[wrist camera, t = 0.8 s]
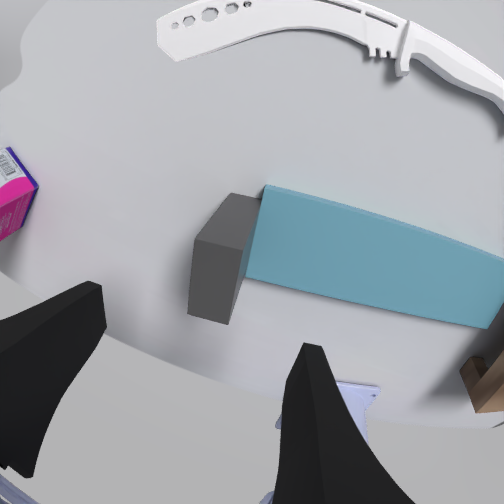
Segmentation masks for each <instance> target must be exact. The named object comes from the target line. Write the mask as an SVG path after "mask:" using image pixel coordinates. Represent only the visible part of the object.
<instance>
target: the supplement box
mask: <svg viewBox="0 0 504 504" xmlns="http://www.w3.org/2000/svg"><path fill="white" fill-rule="evenodd" d="M38 187H39V186H38V184H37V183H36V181H35V180H34V179H33V178H32V176H31V175H30V174H29V172H28V171H27V170H26V169H25V167H24V166H23V165H22V163H21V162H20V161H19V159H18V158H17V156H16V155H15V154H14V152H13V151H12V149H11V148H10V147H7V148H4V149H1V150H0V241H1V240H2V239H4V238H5V237H7V236H8V235H10V234H11V233H13V232H14V231H16V230H18V229H19V228H21V227H22V226H23V223H24V220H25V218H26V215H27V212H28V210H29V207H30V205H31V202H32V200H33V197H34V195H35V193H36V191H37V189H38Z"/></svg>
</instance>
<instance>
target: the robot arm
mask: <svg viewBox="0 0 504 504" xmlns="http://www.w3.org/2000/svg"><path fill="white" fill-rule="evenodd" d="M106 328H107V325H106V318H105V311H104V303H103V294H102V285H99V284H96V283H94V282H91V281H86V282H84V283H81V284H79V285H77V286H75V287H73V288H71V289H68V290H66V291H64V292H62V293H60V294H58V295H56V296H54V297H52V298H50V299H48V300H46V301H44V302H42V303H40V304H38V305H36V306H33V307H31V308H29V309H27V310H24V311H22V312H20V313H18V314H16V315H13V316H11V317H8V318H6V319H3V320H0V467H1V468H3V469H4V470H5V469H6V468H7V466H10V467H11V468H12V469H13V470H15V471H16V472H18V473H19V474H20V475H22V476H23V477H24V478H31V477H33V474H34V469H35V465H36V461H37V457H38V454H39V451H40V447H41V445H42V442H43V439H44V436H45V433H46V431H47V428H48V426H49V423H50V421H51V419H52V417H53V414H54V412H55V410H56V408H57V406H58V404H59V402H60V400H61V398H62V397H63V395H64V393H65V392H66V390H67V388H68V387H69V386H70V384H71V383H72V381H73V380H74V378H75V377H76V375H77V374H78V373H79V371H80V370H81V368H82V367H83V365H84V364H85V363H86V361H87V360H88V358H89V357H90V356H91V354H92V353H93V351H94V350H95V348H96V346H97V345H98V343H99V341H100V339H101V337H102V335H103V333H104V331H105V330H106ZM380 392H381V391H380V388H379V387H374V386H366V385H358V384H351V383H343V382H337V381H335V379H334V376H333V374H332V371H331V369H330V366H329V364H328V361H327V358H326V356H325V353H324V350H323V348H322V346H318V345H314V344H309V343H303V345H302V347H301V349H300V352H299V354H298V356H297V358H296V360H295V363H294V365H293V367H292V369H291V371H290V373H289V375H288V378H287V380H286V385H285V391H284V397H283V404H282V414H281V415H280V417H279V419H278V421H277V422H276V425H275V427H276V428H277V429H281V439H280V457H279V467H278V474H277V480H276V486H275V490H274V491H272V492H269V493H268V494H267V495H266V496H265V497H264V498H263V499H262V500H261V501H260V503H259V504H415V503H414V502H413V501H412V500H411V499H410V498H409V497H408V496H407V495H406V494H405V493H404V492H403V490H402V489H401V488H400V487H399V486H398V485H397V484H396V483H395V481H394V480H393V479H392V478H391V476H390V475H389V474H388V472H387V471H386V470H385V469H384V467H383V466H382V465H381V464H380V462H379V461H378V460H377V458H376V456H375V455H374V454H373V452H372V451H371V449H370V448H369V446H368V435H367V425H366V415H365V411H366V409H367V408H368V407H369V406H370V405H371V403H372V402H373V401H374V400H375V399H376V397H377V396H378V395H379V394H380ZM0 494H1V495H2V496H3V497H4V498H6V499H7V500H8V501H9V502H11V503H12V504H39V503H38V502H36V501H35V500H33V499H32V498H30V497H29V496H28V495H26V494H25V493H24V492H22V491H21V490H20V489H18V488H17V487H15V486H14V485H13V484H12V483H11V482H9V481H8V480H7V479H6V478H4V477H3V476H2V475H1V474H0ZM0 504H8V503H7V502H5V501H4V500H2V499H1V498H0Z"/></svg>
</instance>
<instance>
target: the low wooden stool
mask: <svg viewBox="0 0 504 504" xmlns="http://www.w3.org/2000/svg"><path fill="white" fill-rule="evenodd" d="M460 374H461V376H462V379H463V381H464V383H465V386H466V389H467V391H468V394H469V396H470V399H471V402H472V404H473V407H474V410H475V413H487V412H497V411H504V350H503V351H502V353H501V354H500V355H499V357H498V358H497V359H496V361H495V362H494V363H493V365H492V366H491V367H490V368H489V370H488V368H487V366H486V364H485V362H484V360H483V358H477V357H470V358H469V359H468V361H467V362H466V363H465V365H464V366H463V367H462V368H461V370H460Z"/></svg>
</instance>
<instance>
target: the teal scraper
mask: <svg viewBox="0 0 504 504" xmlns="http://www.w3.org/2000/svg"><path fill="white" fill-rule="evenodd" d="M246 269H247V271H246ZM245 272H246V276H245V277H248V278H252V279H256V280H260V281H264V282H268V283H273V284H277V285H281V286H285V287H289V288H294V289H298V290H302V291H306V292H311V293H315V294H319V295H324V296H328V297H333V298H337V299H342V300H346V301H350V302H355V303H360V304H364V305H369V306H373V307H378V308H383V309H387V310H392V311H397V312H402V313H406V314H411V315H416V316H421V317H426V318H431V319H436V320H441V321H446V322H451V323H456V324H461V325H467V326H472V327H477V328H483V329H488V327H489V326H490V324H491V322H492V321H493V319H494V318H495V316H496V314H497V313H498V311H499V310H500V308H501V306H502V304H503V303H504V259H503V258H501V257H498V256H496V255H493V254H491V253H488V252H486V251H483V250H480V249H478V248H475V247H473V246H470V245H467V244H465V243H462V242H459V241H457V240H454V239H451V238H448V237H446V236H443V235H440V234H437V233H434V232H431V231H428V230H425V229H422V228H420V227H417V226H414V225H410V224H407V223H404V222H401V221H398V220H395V219H392V218H389V217H385V216H382V215H379V214H376V213H372V212H369V211H366V210H362V209H359V208H355V207H352V206H348V205H345V204H341V203H338V202H334V201H330V200H327V199H323V198H319V197H315V196H312V195H308V194H304V193H300V192H296V191H292V190H288V189H284V188H280V187H276V186H271V185H267V184H266V186H265V189H264V193H263V198H262V199H257V198H253V197H249V196H244V195H240V194H235V193H230V194H229V196H228V197H227V198H226V199H225V201H224V202H223V203H222V204H221V206H220V207H219V208H218V210H217V211H216V212H215V213H214V215H213V216H212V217H211V218H210V220H209V221H208V222H207V224H206V225H205V226H204V227H203V229H202V230H201V231H200V233H199V234H198V235H197V237H196V238H195V242H194V251H193V260H192V269H191V279H190V290H189V301H188V312H187V314H189V315H193V316H196V317H200V318H203V319H207V320H211V321H214V322H218V323H222V324H226V325H228V324H229V321H230V318H231V315H232V312H233V309H234V305H235V302H236V299H237V296H238V293H239V290H240V287H241V284H242V281H243V278H244V275H245Z"/></svg>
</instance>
